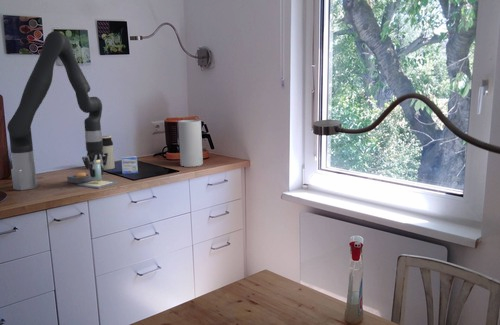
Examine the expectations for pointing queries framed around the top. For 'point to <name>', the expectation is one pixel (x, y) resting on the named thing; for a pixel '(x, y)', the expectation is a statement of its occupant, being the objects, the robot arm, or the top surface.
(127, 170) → the medicine box
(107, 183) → the picture board
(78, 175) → the button
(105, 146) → the travel mug
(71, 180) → the button housing
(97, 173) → the teal bottle
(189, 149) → the cylinder vase
